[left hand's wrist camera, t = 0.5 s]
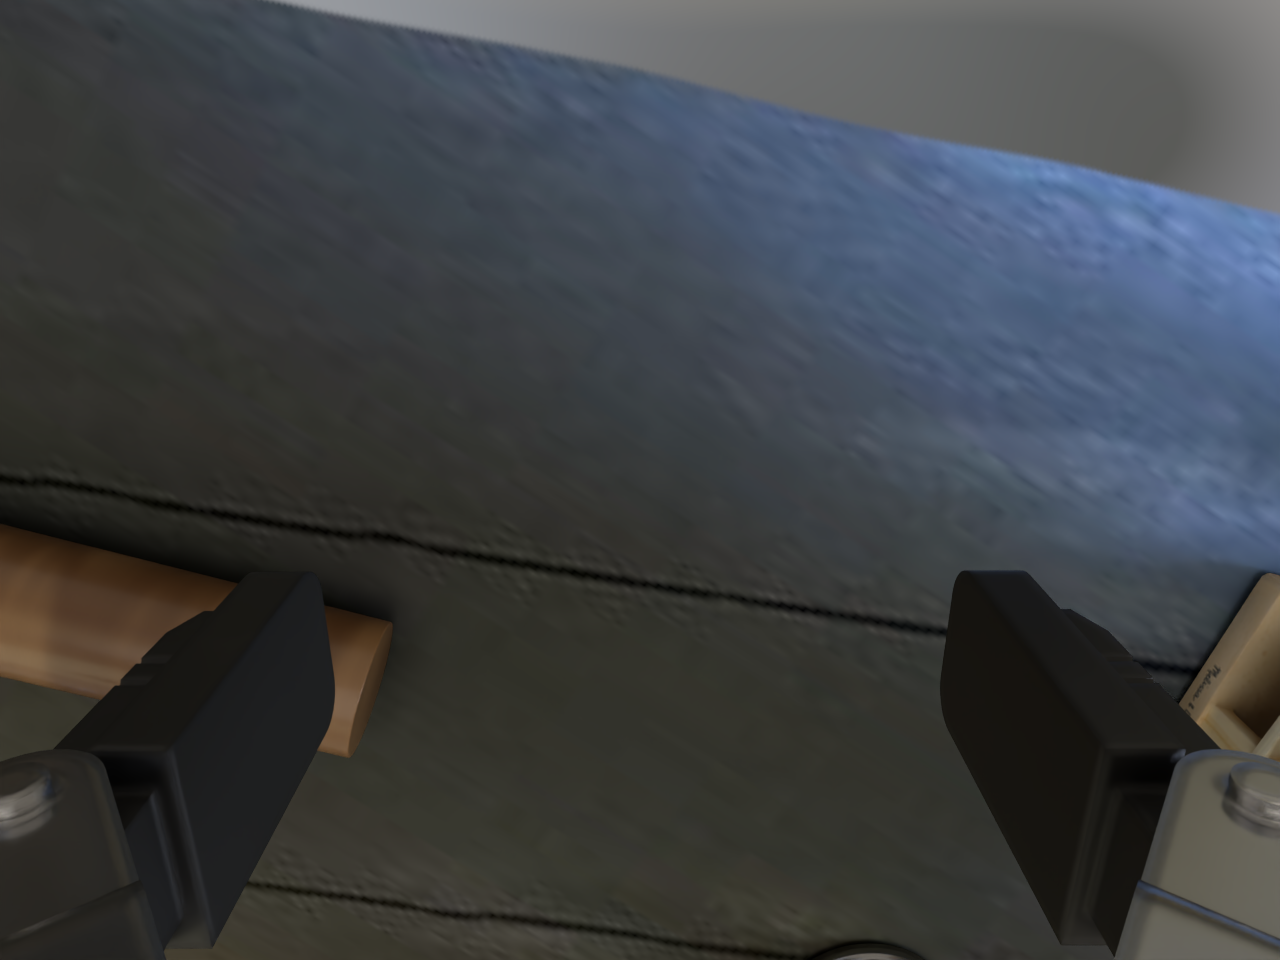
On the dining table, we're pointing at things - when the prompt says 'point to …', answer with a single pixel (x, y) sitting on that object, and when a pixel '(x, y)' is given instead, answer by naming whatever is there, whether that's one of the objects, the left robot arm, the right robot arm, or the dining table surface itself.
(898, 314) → the dining table surface
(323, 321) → the dining table surface
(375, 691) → the rod
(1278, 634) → the pounding bench toy
